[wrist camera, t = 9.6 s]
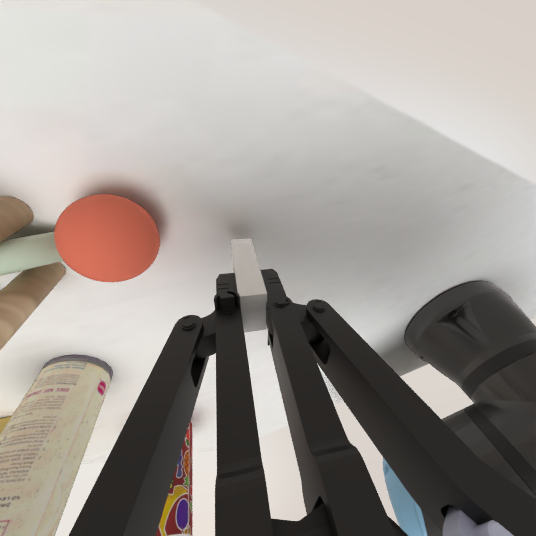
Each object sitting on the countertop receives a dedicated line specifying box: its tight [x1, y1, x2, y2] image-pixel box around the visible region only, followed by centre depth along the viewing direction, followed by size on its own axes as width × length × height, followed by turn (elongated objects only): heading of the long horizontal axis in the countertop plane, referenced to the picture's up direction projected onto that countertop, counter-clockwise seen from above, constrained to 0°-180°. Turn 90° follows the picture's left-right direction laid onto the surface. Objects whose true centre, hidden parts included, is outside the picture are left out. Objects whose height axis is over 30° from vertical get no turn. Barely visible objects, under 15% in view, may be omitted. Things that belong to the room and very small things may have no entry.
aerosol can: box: [0, 355, 113, 536], centre depth 19 cm, size 7×7×20 cm
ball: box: [54, 194, 160, 282], centre depth 16 cm, size 6×6×6 cm
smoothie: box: [156, 422, 192, 536], centre depth 29 cm, size 8×8×20 cm
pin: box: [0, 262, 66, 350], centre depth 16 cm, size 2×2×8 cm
